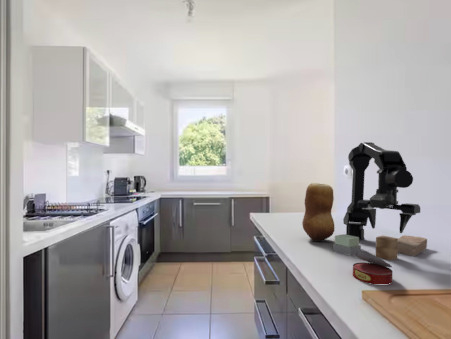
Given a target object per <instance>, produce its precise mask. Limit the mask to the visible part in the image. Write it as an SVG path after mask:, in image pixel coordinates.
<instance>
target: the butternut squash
mask: <svg viewBox="0 0 451 339" xmlns="http://www.w3.org/2000/svg"><path fill="white" fill-rule="evenodd" d="M334 199H335V198H334V189H333V187H332V186H331V185H329V184H327V183H318V182H312V183H310V184H309V185H307V188H306V190H305V197H304V208H305V209H304V210H305V212H304V213H303V218H302V222H301V225H302V229H303V230H304V232H305V233H306V235H307V236H308V237H309V238H310V240H312V242H319V241H320V242H321V241H325V240H326V239H328V238H330V237H332V235H333V234H335V221H334V218H333V216H332V208H333V204H334Z"/></svg>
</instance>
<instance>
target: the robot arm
mask: <svg viewBox="0 0 451 339" xmlns="http://www.w3.org/2000/svg"><path fill="white" fill-rule="evenodd" d="M347 158H348V165H349V166H350V168H351V170H352V179H351V180H352V183H351V186H352V188H351V202H350V203H349V205H348V206H347V208H346V212H345V214H344V217H343V218H342V220H343V222H342V223H343V224H344V225H345V227H346V232H345V233H346V235H350V236H355V237H359V241H361V240H362V241H363V240H365V239H366V238H365V229H364V227H367V224H368V221H369V222H370V226H371V228H372V229H373V230H374V229H375V228H376V220H377V218H376V217H377V209H380V210H384V209H385V210H386V209H387V210H394V211H395V210H396V211H401V212H400V213H399V219H400V221H399V234H402V233H404V230H405V229H406V227H407V224H408V222H409V221H410V219H411V218H412V217H413V216H416V214H421V207H420V205H419V204H418V203H417V204H416V203H401V204H399V201H398V200H397V199H398V196H397V195H398V194H397V193H399V189H400V188H402V189H404V188H405V189H406V188H409V187H410V186H411V185H412V184H413V181H414V177H413V175H412V173H411V172H410V171H409V170H407V165H406V162H404V159H403V157H402V155H401V153H400V152H399V151H397V150H391V149H390V150H388V149H384V148H382V147H380V146H378V145H377V144H375V143H374V142H372V141H371V142H365V141H363V142H360V143H359V144H358V145H357V146H356V147H353V148H352V149H351V150H350V152H349V153H348V157H347ZM372 159H374V161H373V163H374V164H375V166H377V167H378V169H377V171H376V174H378V180H377V182H378V186H377V187H378V188H377V189H376V190H375V192H376V193H375V194H373V195H372V196H371V197H370V198H369V199H364V191H365V171H366V170H367V168H369V166H370V162H371V160H372ZM398 188H399V189H398Z"/></svg>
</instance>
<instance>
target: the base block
mask: <svg viewBox="0 0 451 339" xmlns="http://www.w3.org/2000/svg"><path fill="white" fill-rule="evenodd" d="M332 247H333V248H332V249H333V250H332V251H333V252H336V253H340V254H345V255H348V256H354V255H353V251H354V250H355V249H362V248H361V247H362V245H361V244H359V245H358V246H353V247H346V246H342V245H338V244H335V242H334V243H333V244H332Z"/></svg>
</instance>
